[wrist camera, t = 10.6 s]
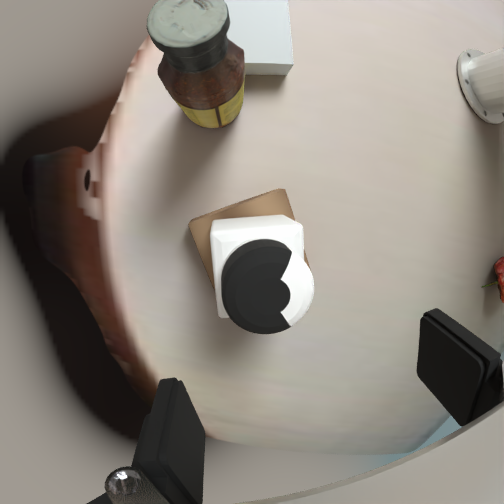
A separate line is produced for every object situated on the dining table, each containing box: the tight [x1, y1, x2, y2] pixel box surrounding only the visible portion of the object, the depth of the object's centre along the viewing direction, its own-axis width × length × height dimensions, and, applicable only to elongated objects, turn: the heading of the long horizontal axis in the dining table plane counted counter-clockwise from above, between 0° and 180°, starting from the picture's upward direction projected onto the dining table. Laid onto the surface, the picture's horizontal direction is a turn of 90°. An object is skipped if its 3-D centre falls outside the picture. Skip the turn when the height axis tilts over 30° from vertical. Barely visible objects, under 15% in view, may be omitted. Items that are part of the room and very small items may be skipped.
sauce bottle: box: [147, 0, 245, 128], centre depth 20 cm, size 6×6×20 cm
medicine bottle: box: [210, 215, 314, 334], centre depth 25 cm, size 7×7×12 cm
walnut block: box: [188, 189, 311, 293], centre depth 32 cm, size 10×10×4 cm
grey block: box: [224, 0, 293, 75], centre depth 27 cm, size 10×10×4 cm
